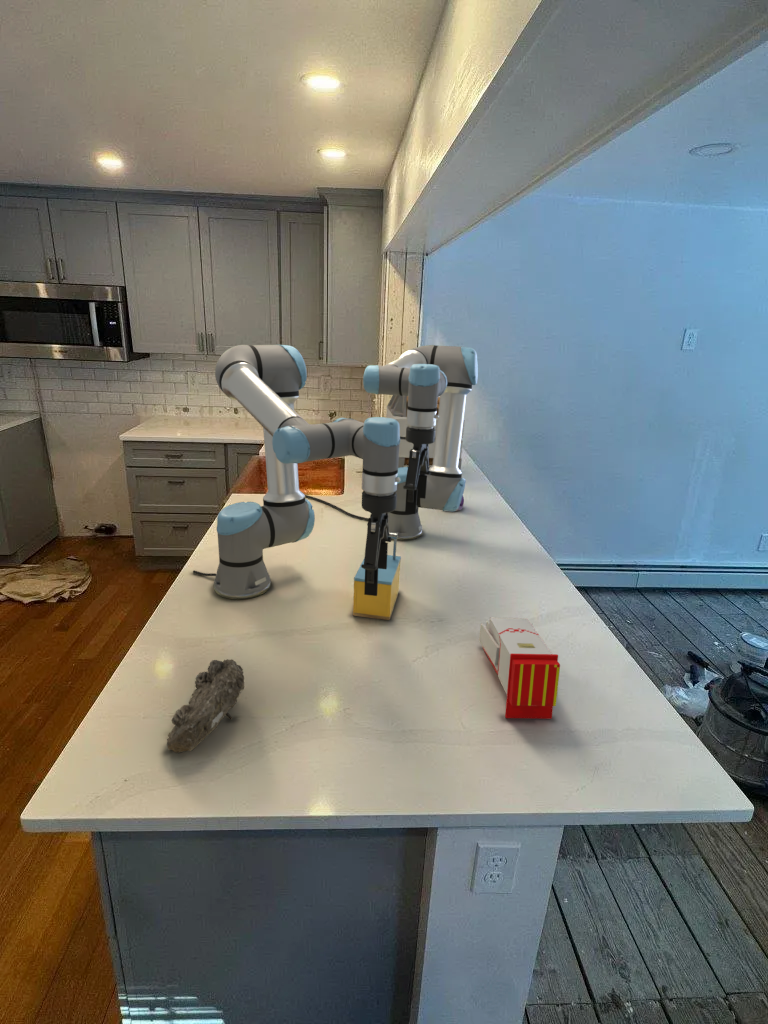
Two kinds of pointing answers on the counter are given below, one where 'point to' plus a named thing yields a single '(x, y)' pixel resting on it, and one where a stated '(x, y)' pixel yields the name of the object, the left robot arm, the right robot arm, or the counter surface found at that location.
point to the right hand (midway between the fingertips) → (415, 505)
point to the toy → (522, 666)
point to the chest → (376, 599)
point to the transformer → (399, 412)
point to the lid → (383, 574)
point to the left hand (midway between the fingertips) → (376, 580)
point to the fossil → (206, 705)
